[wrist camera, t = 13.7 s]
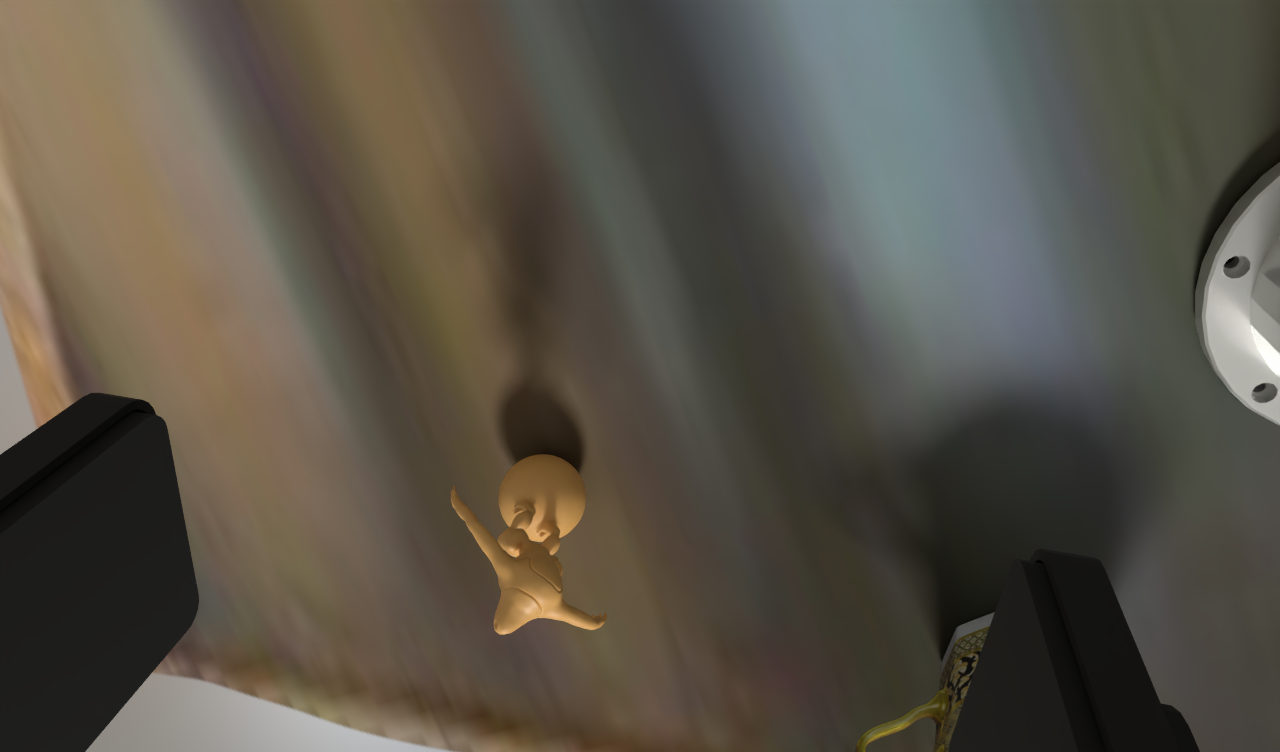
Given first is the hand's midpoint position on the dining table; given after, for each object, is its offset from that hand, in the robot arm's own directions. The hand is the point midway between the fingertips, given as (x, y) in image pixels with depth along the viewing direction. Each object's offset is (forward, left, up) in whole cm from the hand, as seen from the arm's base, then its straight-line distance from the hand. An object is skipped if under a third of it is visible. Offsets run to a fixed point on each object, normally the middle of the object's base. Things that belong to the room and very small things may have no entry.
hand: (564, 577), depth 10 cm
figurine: (+6, +18, -28) cm, 34 cm away
